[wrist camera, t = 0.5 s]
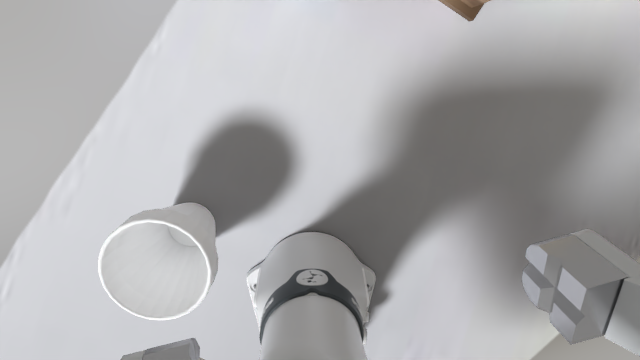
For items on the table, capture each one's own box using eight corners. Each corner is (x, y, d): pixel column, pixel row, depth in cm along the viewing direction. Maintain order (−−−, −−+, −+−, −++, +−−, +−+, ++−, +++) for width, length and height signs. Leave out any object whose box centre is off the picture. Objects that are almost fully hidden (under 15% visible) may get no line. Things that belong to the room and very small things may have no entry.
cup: (133, 241, 56) (79, 292, 43) (168, 167, 54) (122, 198, 41) (212, 278, 58) (183, 338, 45) (250, 208, 56) (231, 250, 42)
